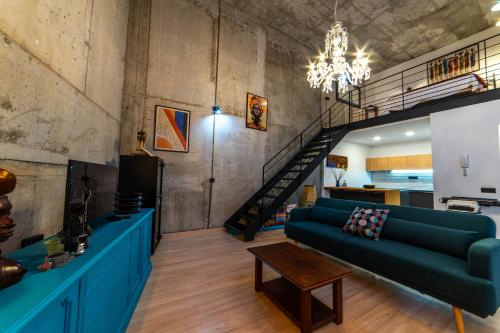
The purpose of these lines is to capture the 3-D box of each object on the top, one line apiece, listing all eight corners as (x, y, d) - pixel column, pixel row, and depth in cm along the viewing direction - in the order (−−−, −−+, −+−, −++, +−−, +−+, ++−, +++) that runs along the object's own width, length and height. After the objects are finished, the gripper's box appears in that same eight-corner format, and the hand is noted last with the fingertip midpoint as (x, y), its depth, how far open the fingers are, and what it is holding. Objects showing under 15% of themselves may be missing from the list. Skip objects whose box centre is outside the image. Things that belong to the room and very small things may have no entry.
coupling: (76, 251, 116) (76, 243, 116) (86, 250, 117) (86, 241, 117) (70, 255, 111) (69, 246, 111) (80, 254, 112) (80, 245, 112)
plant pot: (47, 260, 109) (46, 244, 109) (42, 257, 113) (41, 241, 114) (69, 253, 117) (68, 238, 117) (63, 250, 121) (63, 236, 122)
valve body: (56, 259, 109) (56, 251, 109) (77, 257, 111) (76, 248, 111) (33, 272, 95) (32, 262, 95) (57, 269, 97) (57, 259, 97)
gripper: (72, 221, 122) (73, 246, 121) (47, 230, 103) (48, 260, 103) (93, 219, 124) (94, 244, 123) (72, 227, 105) (73, 257, 105)
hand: (78, 250), depth 114 cm, fingers closed on coupling, 5 cm apart
